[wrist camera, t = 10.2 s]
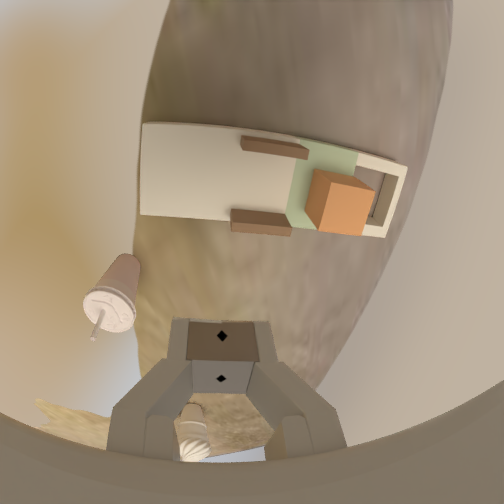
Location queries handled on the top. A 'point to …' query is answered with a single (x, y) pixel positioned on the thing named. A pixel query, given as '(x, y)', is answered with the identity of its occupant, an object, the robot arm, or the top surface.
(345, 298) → the top surface
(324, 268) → the top surface
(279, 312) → the top surface
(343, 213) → the block
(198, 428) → the soft serve ice cream cone
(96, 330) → the smoothie
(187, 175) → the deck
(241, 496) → the robot arm
